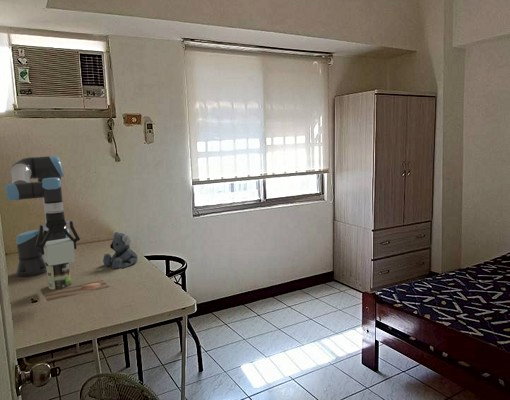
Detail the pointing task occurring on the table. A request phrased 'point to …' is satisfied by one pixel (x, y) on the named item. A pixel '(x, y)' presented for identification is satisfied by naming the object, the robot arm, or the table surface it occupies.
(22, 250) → the robot arm
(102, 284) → the board
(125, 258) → the koala plush
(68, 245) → the pale green block
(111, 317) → the table surface
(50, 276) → the coffee can
